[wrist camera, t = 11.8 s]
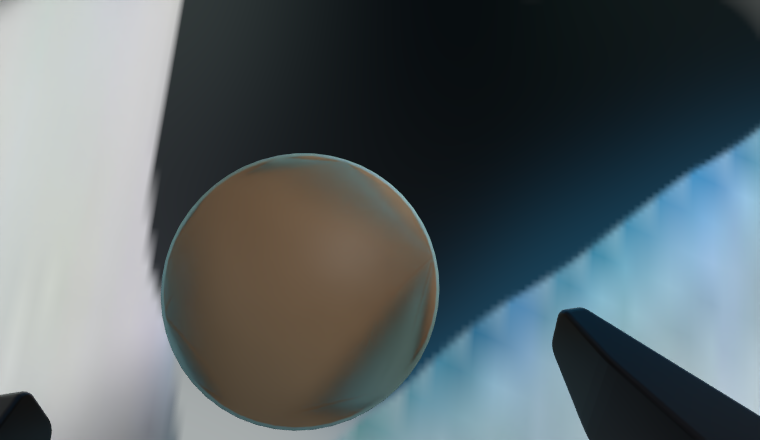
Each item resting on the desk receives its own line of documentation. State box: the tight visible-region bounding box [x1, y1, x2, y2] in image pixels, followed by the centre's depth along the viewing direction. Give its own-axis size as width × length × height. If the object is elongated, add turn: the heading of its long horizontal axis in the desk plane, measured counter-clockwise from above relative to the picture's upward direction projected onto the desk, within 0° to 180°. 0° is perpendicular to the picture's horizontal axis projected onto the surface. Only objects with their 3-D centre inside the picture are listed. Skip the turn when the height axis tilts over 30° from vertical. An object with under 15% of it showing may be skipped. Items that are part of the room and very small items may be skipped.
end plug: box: [161, 154, 439, 431], centre depth 15 cm, size 5×5×12 cm
